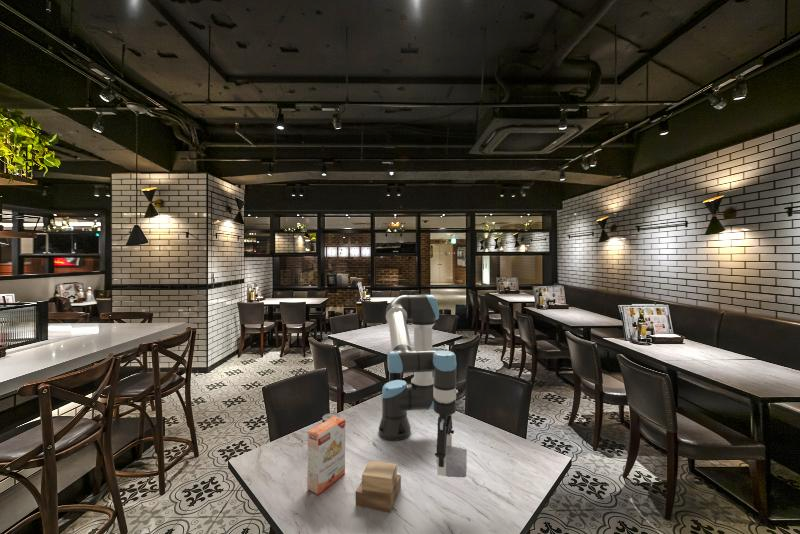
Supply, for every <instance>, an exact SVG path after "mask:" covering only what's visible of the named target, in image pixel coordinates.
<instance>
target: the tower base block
mask: <svg viewBox="0 0 800 534" xmlns="http://www.w3.org/2000/svg"><path fill="white" fill-rule="evenodd" d="M401 479H402V476H401V474H397V479H396V482H395V485H394V488H393V491H392V493H391V494H387V493H380V492H374V491H367V490H362V481H361V482H360V483H359V486H358V487H357V488H356V490H355V506H357V507H362V508H366V509H371V510H374V511H379V512H385V513H389V514H391V512H392V510H393V507H394V505H395V503H396V501H397V498H398V495H399V494H400V491H401V488H402V484H401V483H402V481H401Z"/></svg>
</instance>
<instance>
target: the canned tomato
mask: <svg viewBox="0 0 800 534" xmlns="http://www.w3.org/2000/svg"><path fill="white" fill-rule="evenodd" d="M334 416H336V417H338V418H341V415H340V413H336V412H329V413H326V414H323V416H322V417H321V418H322V423H323V422H325V421H327V420H329V419H330V418H332V417H334Z"/></svg>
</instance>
